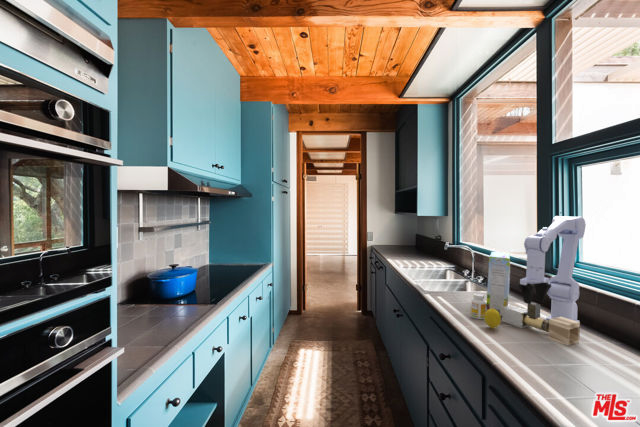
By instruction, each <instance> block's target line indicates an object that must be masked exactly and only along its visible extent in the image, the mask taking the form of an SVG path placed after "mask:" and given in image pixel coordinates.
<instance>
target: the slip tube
mask: <svg viewBox="0 0 640 427" xmlns="http://www.w3.org/2000/svg"><path fill="white" fill-rule="evenodd" d="M526 305H527V308H526V310H527V314H523V324H525V325H528V326H530V327H531V328H534V329H537V330H541V331H543V332H545V333H549V320H548V319H543V318H541V304H540V303H536V302H533V301H532V302H531V304H528V303H527V304H526Z"/></svg>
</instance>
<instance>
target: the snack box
mask: <svg viewBox="0 0 640 427" xmlns="http://www.w3.org/2000/svg"><path fill="white" fill-rule="evenodd" d="M487 273H488V274H487V288H486V309H485V312H486V311H487V310H489V309H492V308H494V309H495V310H497V311H498V312H499V314H500V317H502V313H503V307H505V306H509V298H510V296H509V295H510V280H511V278H510V277H511V255H510V253H508V252H498V251H492V252H490V255H489V256H488V272H487Z"/></svg>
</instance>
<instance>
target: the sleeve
mask: <svg viewBox="0 0 640 427" xmlns="http://www.w3.org/2000/svg"><path fill="white" fill-rule="evenodd" d="M523 314H527V308H523V307H519V306H517V305H508V306H505V307H503V313H502V316H501V319H502V320H501V321H502V322H503V323H507V324H508V325H509V324H510V325H511V326H515V327H517V328H520V329H524V328H528V327H531V326H528V325H525V324H523Z"/></svg>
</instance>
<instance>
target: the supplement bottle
mask: <svg viewBox="0 0 640 427" xmlns="http://www.w3.org/2000/svg"><path fill="white" fill-rule="evenodd" d="M484 299H485V295H484V294H482V293H473V298H472V299H471V304H470V306H471V307H470V308H471V309H470V310H471V311H470V316H471V318H473V319H476V320H485V319H484V316H485V313H486V304H487V301H486V300H484Z"/></svg>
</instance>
